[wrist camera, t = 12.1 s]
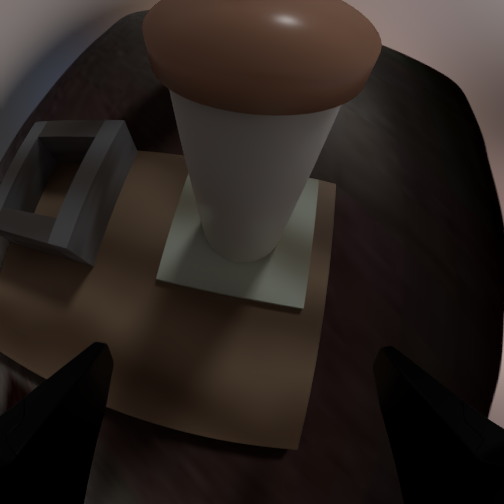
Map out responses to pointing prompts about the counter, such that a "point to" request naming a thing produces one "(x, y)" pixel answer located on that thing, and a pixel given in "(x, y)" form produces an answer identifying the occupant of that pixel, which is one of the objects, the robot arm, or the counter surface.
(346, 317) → the counter surface
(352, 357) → the counter surface
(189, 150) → the white cylinder brown top
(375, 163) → the counter surface
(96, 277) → the board
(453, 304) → the counter surface
